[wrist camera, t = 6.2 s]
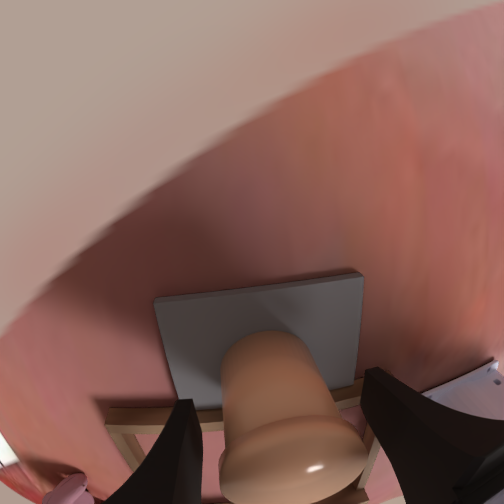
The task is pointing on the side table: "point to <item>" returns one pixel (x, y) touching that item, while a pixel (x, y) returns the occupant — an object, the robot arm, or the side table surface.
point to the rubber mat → (260, 329)
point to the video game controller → (70, 491)
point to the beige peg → (282, 426)
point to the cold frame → (154, 419)
